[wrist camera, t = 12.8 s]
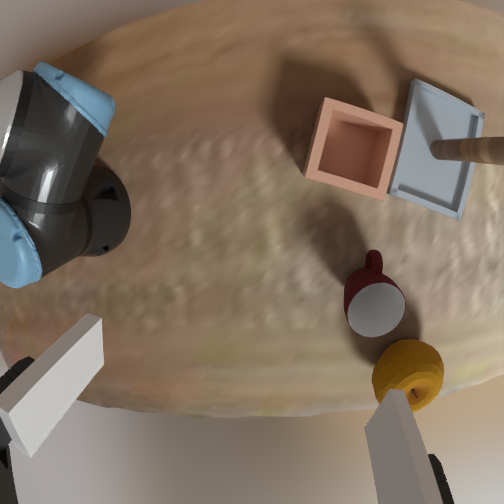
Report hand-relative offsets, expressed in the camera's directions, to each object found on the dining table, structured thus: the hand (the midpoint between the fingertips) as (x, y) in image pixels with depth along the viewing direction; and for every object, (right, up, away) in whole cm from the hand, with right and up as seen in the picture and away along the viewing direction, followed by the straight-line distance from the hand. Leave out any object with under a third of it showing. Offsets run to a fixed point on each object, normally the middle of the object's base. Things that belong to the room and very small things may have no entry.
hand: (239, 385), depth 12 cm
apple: (+27, -13, +37) cm, 48 cm away
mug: (+17, +2, +34) cm, 38 cm away
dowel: (+28, +21, +26) cm, 43 cm away
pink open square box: (+14, +20, +29) cm, 37 cm away
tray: (+28, +21, +26) cm, 44 cm away
